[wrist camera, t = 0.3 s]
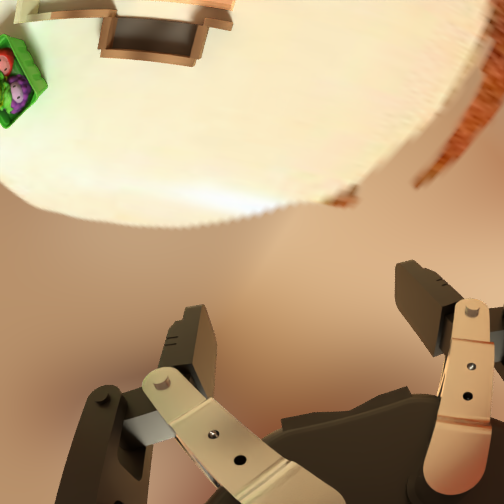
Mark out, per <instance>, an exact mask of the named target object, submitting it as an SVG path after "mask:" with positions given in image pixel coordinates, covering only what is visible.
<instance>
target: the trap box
mask: <svg viewBox="0 0 504 504" xmlns="http://www.w3.org/2000/svg"><path fill="white" fill-rule="evenodd" d="M116 13H117V10H111V9H91V10H70V11H57V12H47V13H39V14H31V15H27V18H26V22H34V21H43V20H53V19H67V18H95V17H104V18H103V23H102V28H101V33H100V38H99V44H98V49H101V55H100V57H103V58H120V59H133V60H143V61H153V62H161V63H169V64H176V65H182V66H189V67H193V66H194V65H195V63H196V59H200V58H201V57H202V53H203V49H204V45H205V41H206V37H207V34H208V30H209V27H213V28H218V29H223V30H228V31H231V29H232V26H233V22H228V21H223V20H218V19H212V18H206V17H205V19H204V23H203V25H195V24H188V23H180V22H172V21H163V20H152V19H137V18H116Z"/></svg>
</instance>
